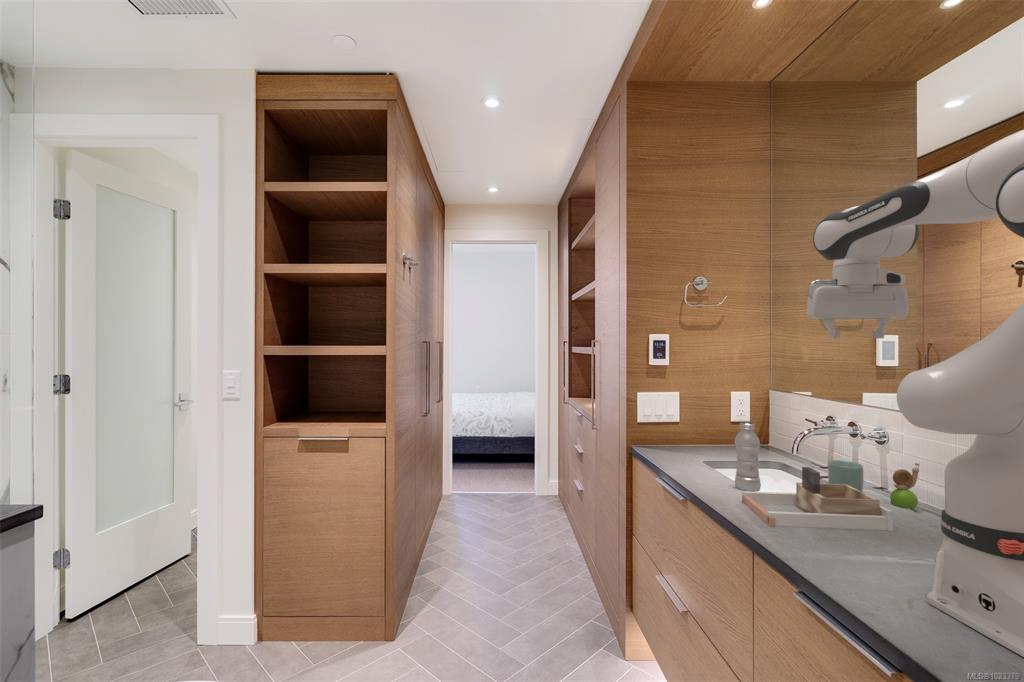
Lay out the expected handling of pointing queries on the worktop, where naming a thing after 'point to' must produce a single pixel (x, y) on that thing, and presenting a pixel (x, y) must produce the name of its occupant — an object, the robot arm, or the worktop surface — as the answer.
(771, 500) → the white tray
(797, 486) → the drawer
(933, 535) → the worktop surface
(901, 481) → the snail figurine
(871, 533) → the worktop surface
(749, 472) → the plastic bottle
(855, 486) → the cup
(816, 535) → the worktop surface
